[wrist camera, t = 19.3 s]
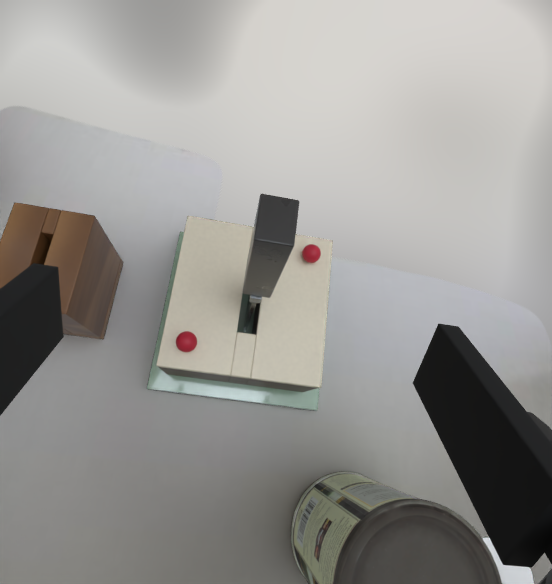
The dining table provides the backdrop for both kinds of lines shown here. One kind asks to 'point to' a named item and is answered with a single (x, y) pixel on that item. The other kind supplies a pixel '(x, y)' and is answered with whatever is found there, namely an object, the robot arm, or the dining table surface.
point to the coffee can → (384, 537)
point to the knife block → (65, 262)
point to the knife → (269, 248)
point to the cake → (226, 308)
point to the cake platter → (218, 388)
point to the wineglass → (510, 569)
